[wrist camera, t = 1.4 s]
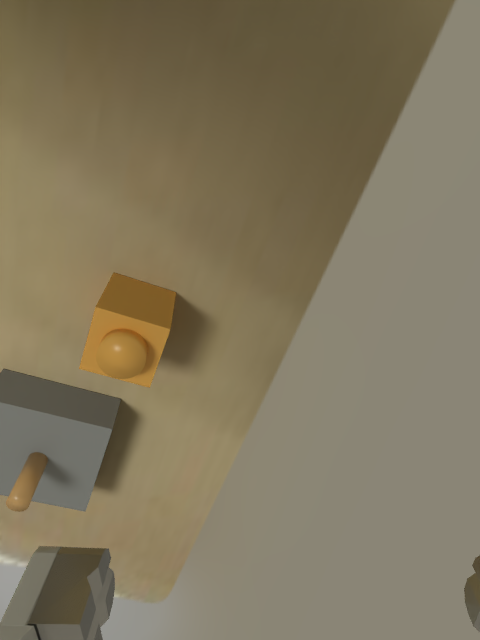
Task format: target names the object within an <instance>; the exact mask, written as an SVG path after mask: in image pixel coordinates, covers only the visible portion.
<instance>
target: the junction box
mask: <svg viewBox="0 0 480 640" xmlns="http://www.w3.org/2000/svg"><path fill="white" fill-rule="evenodd" d="M120 401H121V399H119V398H115V397H111V396H107V395H103V394H99V393H96V392H92V391H88V390H84V389H80V388H76V387H72V386H68V385H65V384H61V383H57V382H53V381H49V380H45V379H41V378H37V377H33V376H30V375H26V374H22V373H18V372H14V371H10V370H6V369H3V370H2V372H1V373H0V495H4V496H9V497H8V499H7V501H6V505H7V507H8V508H9V509H11V510H13V511H18V512H20V511H24V510H26V509H27V508H28V507H29V504H30V502H31V501H35V502H40V503H45V504H50V505H55V506H60V507H65V508H70V509H75V510H80V511H86V508H87V505H88V502H89V499H90V496H91V493H92V490H93V487H94V484H95V481H96V478H97V475H98V472H99V469H100V466H101V463H102V460H103V457H104V454H105V451H106V448H107V445H108V442H109V438H110V435H111V432H112V429H113V426H114V422H115V419H116V415H117V412H118V408H119V405H120Z"/></svg>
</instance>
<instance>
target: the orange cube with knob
mask: <svg viewBox="0 0 480 640" xmlns="http://www.w3.org/2000/svg"><path fill="white" fill-rule="evenodd" d="M175 298H176V292H173V291H170V290H167V289H164V288H161V287H158V286H155V285H152V284H148V283H145V282H142V281H139V280H136V279H133V278H130V277H127V276H123V275H120V274H117V273H113V275H112V277H111V279H110V281H109V282H108V284H107V286H106V288H105V290H104V292H103V294H102V296H101V298H100V300H99V302H98V303H97V305H96V308H95V311H94V315H93V319H92V322H91V326H90V330H89V334H88V337H87V341H86V345H85V349H84V352H83V356H82V360H81V363H80V367H79V369H82V370H86V371H89V372H93V373H97V374H101V375H104V376H108V377H112V378H116V379H119V380H123V381H127V382H131V383H134V384H138V385H142V386H146V387H149V388H150V385H151V383H152V380H153V377H154V374H155V371H156V369H157V366H158V363H159V360H160V357H161V355H162V352H163V349H164V346H165V343H166V341H167V338H168V335H169V332H170V329H171V323H172V317H173V310H174V304H175Z"/></svg>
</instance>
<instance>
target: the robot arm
mask: <svg viewBox="0 0 480 640" xmlns="http://www.w3.org/2000/svg"><path fill="white" fill-rule="evenodd" d="M110 560H111V556H110V552H109V549H107V548H78V547H53V546H39V547H38V549H37V550H36V551H35V552H34V553H33V555H32V557H31V559H30V561H29V563H28V565H27V568H26V570H25V572H24V574H23V576H22V578H21V580H20V582H19V584H18V587H17V589H16V591H15V593H14V595H13V597H12V599H11V601H10V604H9V605H8V608H7V610H6V612H5V614H4V616H3V618H2V621H1V622H0V640H103V639H102V635H101V630H100V627H101V626H102V625H103V624H104V623H105V622H106V621H107V620H108V619H109V616H110V611H111V608H112V603H113V597H114V590H115V578H114V572H113V571H112V570H111V569H110V568H109V563H110ZM472 566H473V568H474V570H475V572H476V573H475V574H473V575H472V576H471V577H469V578H468V579H467V582H466V585H465V588H464V592H465V603H466V607H467V611H468V614H469V617H470V619H471V621H472V624H473V626H474V627H475V628H476V629H477V630H478V631H479V632H480V556H478V557H477V558H475V560H474V563H473V565H472Z"/></svg>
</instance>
